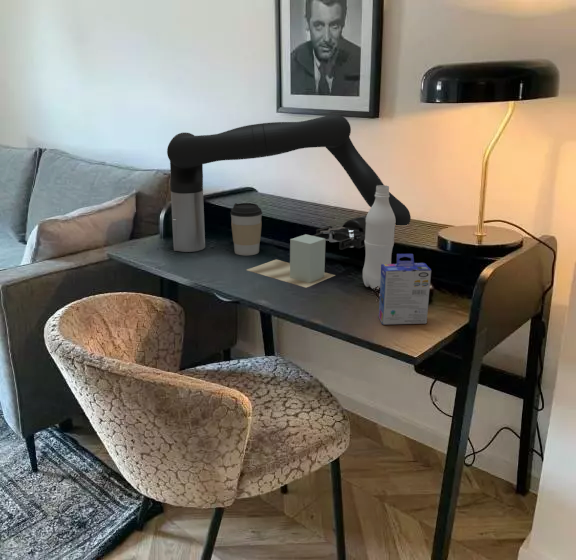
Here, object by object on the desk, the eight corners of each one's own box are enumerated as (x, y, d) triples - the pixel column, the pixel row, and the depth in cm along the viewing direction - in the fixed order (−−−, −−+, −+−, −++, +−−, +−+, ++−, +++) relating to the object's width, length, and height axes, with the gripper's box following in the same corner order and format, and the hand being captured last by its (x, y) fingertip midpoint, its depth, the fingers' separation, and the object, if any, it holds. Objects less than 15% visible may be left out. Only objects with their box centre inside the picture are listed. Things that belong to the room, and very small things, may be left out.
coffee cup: (264, 251, 178) (264, 201, 173) (260, 261, 169) (259, 208, 164) (234, 250, 178) (233, 200, 173) (228, 259, 170) (227, 207, 165)
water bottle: (394, 291, 148) (401, 189, 139) (364, 291, 147) (370, 189, 139) (387, 281, 154) (394, 183, 146) (359, 281, 154) (364, 183, 146)
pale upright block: (289, 277, 153) (290, 239, 149) (305, 271, 157) (305, 234, 154) (309, 283, 149) (310, 244, 146) (324, 276, 154) (325, 238, 150)
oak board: (246, 274, 158) (245, 255, 157) (276, 263, 167) (276, 245, 165) (306, 292, 146) (306, 271, 145) (335, 279, 155) (336, 260, 153)
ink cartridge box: (420, 314, 134) (426, 251, 129) (428, 324, 129) (434, 259, 124) (376, 315, 133) (380, 252, 129) (382, 325, 128) (386, 260, 123)
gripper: (341, 213, 171) (305, 223, 159) (384, 221, 162) (350, 233, 151) (340, 238, 173) (304, 251, 162) (383, 248, 165) (348, 262, 153)
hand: (326, 242), depth 156 cm, fingers open, 8 cm apart
